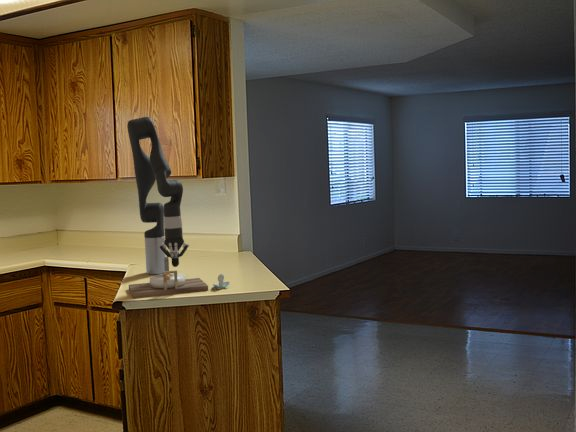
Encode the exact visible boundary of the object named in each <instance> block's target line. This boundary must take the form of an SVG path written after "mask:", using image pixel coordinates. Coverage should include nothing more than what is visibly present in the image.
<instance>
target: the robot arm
mask: <svg viewBox="0 0 576 432" xmlns="http://www.w3.org/2000/svg"><path fill="white" fill-rule="evenodd" d="M126 125H127V135H128V139H129V143H130V147H131V152H132V158H133V169H134V176H135V182H136V189H137V194H138V196H137V197H138V205H139V206H138V208H139V217H140V221H141V222H142V223H146V224H147V223H148V224H149V223H156V225H155V226H153V227H152V228H149V229H147V230H145V231H144V233H143V234H144V250H145V268H146V269H145V271H146V274H147V275H163V272H164V271H165V266H164V257H168V258H171V266H172V267H173V268H176V267H179V265H180V258H181V257H183V255H184V254H185V253H186V252H187V250H188V248H189V247H190V244H188V243H186V242H185V240H184V238H183V237H184V236H183V221H182V216H181V203H182V198H183V194H184V187H183V183H182V182H181V181H180V180H179V179H170V180H169V179H168V178H169V177H170V176H171V175H172V170H171V167H170V165H169V163H168V161H167V159H166V157H165V154H164V151H163V147H162V145H161V142H160V141H161V140H160V138H159V135H158V131H157V129H156V126H155V124H154V121H153V120H152V118H151V117H150V116H142V117H138V118H134V119H130V120H128V121H127V124H126ZM145 139H149V140H150V141H151V150H150V155H149V156H148V154H146V152H144V150H143V148H142V147H141V143H140V140H141V141H142V140H145ZM155 183H156V187H157V191H158V193H159V195H160V196H162V197H164V198H170V200H169V201H167V202H166V203H164V204H163V203H162V202H147V198H148V195H149V193H150V191H151V190H152V188H153V187H154V185H155ZM181 248H182V249H181ZM180 250H181V251H180Z"/></svg>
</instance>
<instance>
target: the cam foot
mask: <svg viewBox="0 0 576 432" xmlns="http://www.w3.org/2000/svg"><path fill="white" fill-rule="evenodd" d="M164 266H165V271H170V261H169V257H167V256H166V257H164ZM185 279H186V275H185V274H182V273H177V280H178V286H182V285H184V284H185ZM166 281H167V288H172V287H175V280H174V273H171V274H166ZM149 283H150V287H153V288H164V281H163V274H156V275H153V276H151V277H150V278H149Z"/></svg>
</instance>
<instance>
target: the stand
mask: <svg viewBox="0 0 576 432" xmlns="http://www.w3.org/2000/svg"><path fill="white" fill-rule="evenodd" d="M166 274H174V280H175V287H172V288H167V281H166ZM177 274H178V270H169V271H164V272H163V273H162V275H163V281H164V288H153V287H150V282H142V283H133V284H128V291H129V292H130V294H132V295H131V296H133V297H132V299H137V297H139V298H146V297H149V298H150V297H158V296H167V295H175V294H176V295H178V294H186V293H195V292H196V293H197V292H206V291H209V285H208V284H207V283H205V281H204V280H202V279H201V278H200V277H195V278H185V284H184V285H182V286H178V280H177Z"/></svg>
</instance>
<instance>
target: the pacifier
mask: <svg viewBox="0 0 576 432" xmlns="http://www.w3.org/2000/svg"><path fill="white" fill-rule="evenodd" d="M224 279H225V275H224V274H223V273H220V274H218V276H217V281H218V283H217V284H212V287H211V288H212V289H214V290H216V289H217V290H223V289H226V288H227V287H228V286H229V285H230V281H225V282H224Z"/></svg>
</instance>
